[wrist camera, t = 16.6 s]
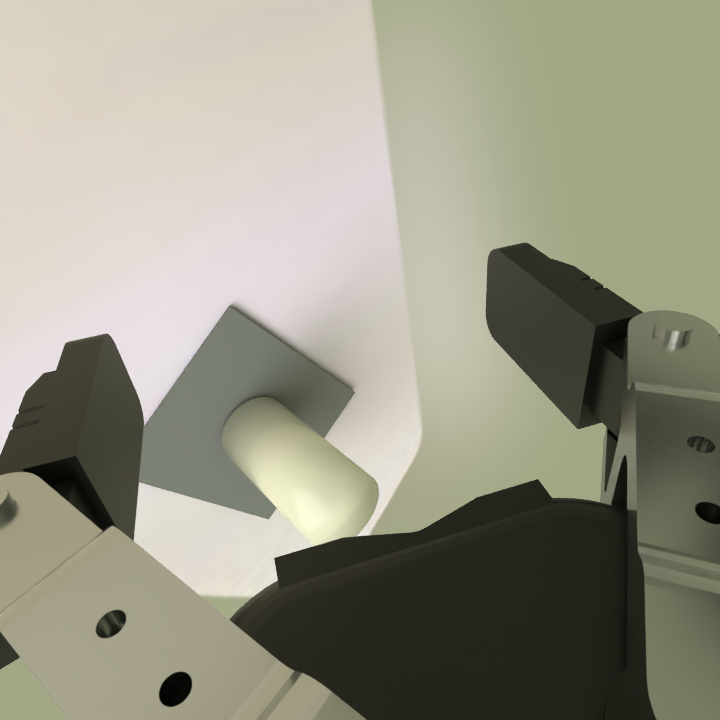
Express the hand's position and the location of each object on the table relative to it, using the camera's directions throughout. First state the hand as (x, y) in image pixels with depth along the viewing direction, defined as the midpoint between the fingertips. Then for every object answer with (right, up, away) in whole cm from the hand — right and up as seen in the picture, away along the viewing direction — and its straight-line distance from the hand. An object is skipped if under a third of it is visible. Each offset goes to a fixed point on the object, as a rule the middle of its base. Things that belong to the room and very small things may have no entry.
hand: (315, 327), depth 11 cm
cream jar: (-6, -6, +26) cm, 27 cm away
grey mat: (-7, -5, +26) cm, 27 cm away
